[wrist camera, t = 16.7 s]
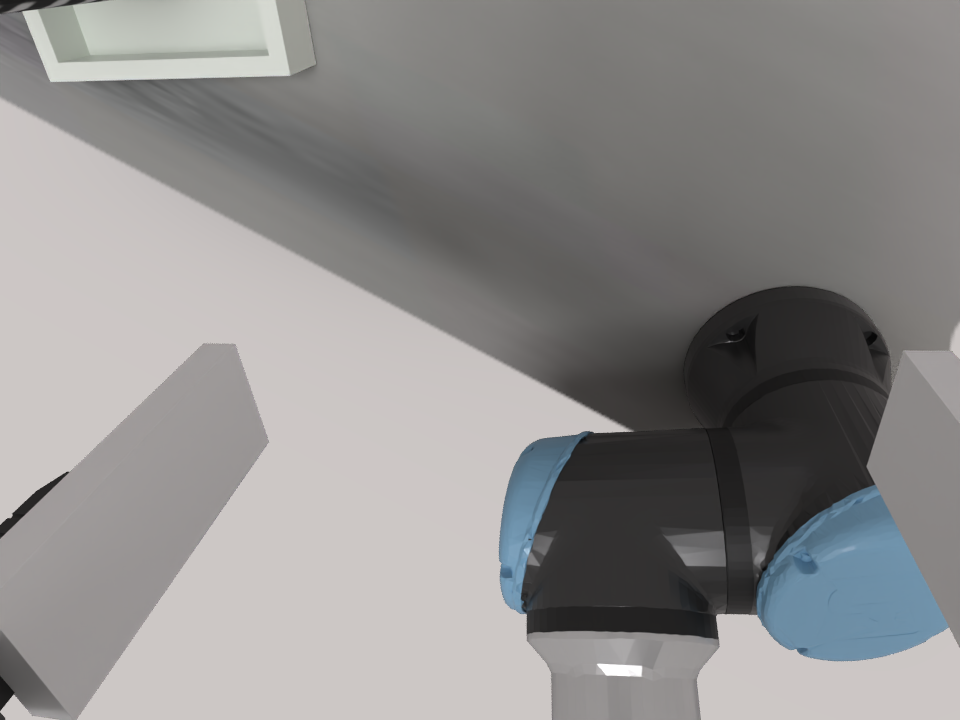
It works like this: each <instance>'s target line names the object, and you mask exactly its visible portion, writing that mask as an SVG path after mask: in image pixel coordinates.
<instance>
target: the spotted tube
mask: <svg viewBox="0 0 960 720" xmlns="http://www.w3.org/2000/svg"><path fill="white" fill-rule="evenodd" d="M101 1H109V0H0V14H6V13H14V12H22V11H29V10H37V9H45V8H53V7H61V6H69V5H77V4H85V3H93V2H101Z"/></svg>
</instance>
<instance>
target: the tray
mask: <svg viewBox="0 0 960 720" xmlns="http://www.w3.org/2000/svg"><path fill="white" fill-rule="evenodd" d="M22 12H23V14H24V17H25V19H26V22H27V24H28V27H29V29H30V32H31V34H32V37H33V39H34V42H35V44H36V47H37V49H38V52H39V54H40V57H41V59H42V62H43V64H44V67H45V69H46V72H47V74H48V77H49V79H50V82H66V81H104V80H143V79H181V78H220V77H258V76H291V75H293V74H295V73H298V72H300V71H302V70H305V69H307V68H309V67H311V66H314V65H316V60H315V55H314V49H313V43H312V38H311V32H310V26H309V21H308V15H307V10H306V4H305V0H109V1H101V2H93V3H85V4H77V5H69V6H61V7H53V8H45V9H37V10H29V11H22Z"/></svg>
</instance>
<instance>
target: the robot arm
mask: <svg viewBox="0 0 960 720" xmlns="http://www.w3.org/2000/svg"><path fill="white" fill-rule="evenodd" d="M684 381H685V386H686V391H687V397H688V400H689V404H690V406H691V408H692V411H693V413H694V415H695V416H696V418H697V419H698V421H699V422H700V423H701V425H702V426H703V427H704V428H695V429H677V430H659V431H641V432H615V433H593V432H590V431H585V432H582V433H580V434H578V435H571V436H563V437H552V438H544V439H539V440H537V441H535V442H533V443H531V444H530V445H529V446H528V447H526V449H525V450H524V451H523V452H522V453H521V455H520V457H519V459H518V461H517V462H516V464H515V466H514V469H513V471H512V474H511V477H510V480H509V484H508V488H507V492H506V496H505V501H504V507H503V514H502V521H501V530H500V541H499V561H500V562H501V563H502V564H501V571H500V584H501V591H502V595H503V598H504V600H505V603H506V604H507V605H508V606H509V607H510V608H511V609H514V610H516V611H517V612H518V613H520V614H527V641H528V642H529V644H530V645H531V646H532V647H533V648H534V649H535V650H536V652H537V653H538V654H539V655H540V656H541V657H542V658H543V660H544V661H545V662H546V663H547V665H548V667H549V669H550V671H551V677H552V678H551V681H552V720H701V718H700V708H699V699H698V689H697V677H698V674H699V671H700V670H701V668H702V667H703V666H704V665H705V663H706V662H707V661H708V660H709V659H710V657H711V656H712V655H713V654H714V653H715V652H716V650H717V649H718V648H719V638H718V630H717V622H716V616H717V614H749V615H758V617H759V619H760V620H761V622H762V625H763V626H764V627H765V628H766V629H767V631H768V632H769V634H770V635H771V636H772V637H773V638H774V640H776V641H777V642H778V643H779V644H780V645H782V646H783V647H785V648H787V649H789V650H794V649H797V651H798V652H799V653H800V654H801V655H804V656H807V657H810V658H814V659H820V660H828V661H857V660H866V659H873V658H878V657H883V656H887V655H890V654H894V653H897V652H901V651H904V650H907V649H909V648H912V647H914V646H916V645H919V644H921V643H923V642H926V640H928V639H929V638H931V637H932V636H934V635H936V634H938V633H940V632H942V631H944V630H945V629H947V628H948V627H949V628H950V630H951V631H952V633H953V635H954V637H955V639H956V641H957V643H958V645H959V647H960V360H959V358H958V357H957V356H956V355H955V354H954V353H953V352H952V351H907V350H904V351H903V354H902V357H901V360H900V363H899V366H898V369H897V373H896V376H895V379H894V382H893V385H892V388H891V362H890V355H889V351H888V348H887V345H886V343H885V340H884V338H883V337H882V335H881V333H880V332H879V330H878V329H877V328H876V326H875V325H874V323H873V322H872V320H871V319H870V318H869V316H868V315H867V314H866V313H865V312H864V311H863V310H862V309H861V308H860V307H859V306H857V305H856V304H855V303H853V302H852V301H850V300H848V299H846V298H844V297H842V296H840V295H838V294H835V293H832V292H829V291H825V290H821V289H816V288H808V287H785V288H777V289H771V290H766V291H762V292H759V293H756V294H753V295H750V296H747V297H745V298H743V299H740V300H738V301H736V302H734V303H732V304H731V305H729V306H727V307H726V308H724V309H723V310H721V311H720V312H719V313H717V314H716V315H715V316H713V317H712V318H711V319H710V320H709V321H708V322H707V323H706V324H705V325H704V326H703V327H702V329H701V330H700V331H699V332H698V334H697V335H696V337H695V338H694V340H693V342H692V344H691V346H690V348H689V350H688V353H687V356H686V360H685V365H684ZM268 443H269V440H268V437H267V434H266V432H265V429H264V426H263V423H262V420H261V417H260V414H259V411H258V409H257V406H256V403H255V400H254V397H253V394H252V391H251V388H250V385H249V383H248V379H247V377H246V374H245V371H244V368H243V365H242V362H241V359H240V356H239V353H238V351H237V348H236V345H235V344H203V345H202V346H201V347H200V348H198V349H197V350H196V351H195V352H194V353H193V354H192V355H191V356H190V357H189V358H188V359H187V360H186V361H185V362H184V363H183V364H182V365H181V366H180V367H179V368H178V369H177V370H176V371H175V372H173V374H172V375H170V376H169V377H168V378H167V379H166V380H165V381H164V382H163V383H162V384H161V385H160V386H159V387H158V388H157V389H156V390H155V391H154V392H153V393H152V394H151V395H149V396H148V397H147V398H146V399H145V400H144V401H143V402H142V403H141V404H140V405H139V406H138V407H137V408H136V409H135V410H134V411H133V412H132V413H131V414H130V415H129V416H128V417H127V418H126V419H124V420H123V422H121V423H120V424H119V425H118V426H117V427H116V428H115V429H114V430H113V431H112V432H111V433H110V434H109V435H108V436H107V437H106V438H105V439H104V440H103V441H102V442H101V443H99V444H98V445H97V446H96V448H94V449H93V450H92V451H91V452H90V453H89V454H88V455H87V456H86V457H85V458H84V459H83V460H82V461H81V462H80V463H79V464H78V465H77V466H76V467H75V468H74V469H73V470H71V471H70V472H66V473H64V474H63V475H61V476H60V477H58V478H56V479H55V480H53V481H52V482H50V483H48V484H47V485H45V486H44V487H42V488H40V489H39V490H37V491H36V492H35V493H34V494H33V495H32V496H31V497H30V498H28V499H27V500H26V501H25V502H24V503H23V504H22V505H21V506H20V507H19V508H18V509H17V510H16V511H15V512H14V513H13V516H12V518H7V519H6V520H5V521H4V522H3V523H2V524H1V525H0V711H1V709H2V708H3V707H4V706H5V704H6V703H7V702H8V701H9V699H10V698H11V697H12V696H13V694H14V695H15V696H16V697H17V698H18V699H19V701H20V702H21V703H22V704H23V705H24V706H25V708H26V709H27V710H28V711H29V712H30V713H31V714H32V716H39V717H46V718H53V719H59V720H77V718H78V717H79V715H80V714H81V712H82V711H83V709H84V708H85V707H86V705H87V704H88V702H89V701H90V699H91V698H92V696H93V695H94V694H95V692H96V691H97V689H98V688H99V686H100V685H101V684H102V682H103V681H104V679H105V678H106V676H107V675H108V673H109V672H110V671H111V669H112V668H113V666H114V665H115V663H116V662H117V660H118V659H119V658H120V656H121V655H122V653H123V651H124V650H125V649H126V647H127V646H128V644H129V643H130V642H131V640H132V639H133V637H134V636H135V634H136V633H137V632H138V630H139V629H140V627H141V626H142V624H143V623H144V622H145V620H146V619H147V617H148V616H149V614H150V613H151V611H152V610H153V608H154V607H155V606H156V604H157V603H158V601H159V600H160V598H161V597H162V595H163V594H164V593H165V591H166V590H167V588H168V587H169V585H170V584H171V583H172V581H173V580H174V578H175V577H176V575H177V574H178V572H179V571H180V569H181V568H182V567H183V565H184V564H185V562H186V561H187V560H188V558H189V556H190V555H191V554H192V552H193V551H194V549H195V548H196V546H197V545H198V544H199V542H200V541H201V539H202V538H203V536H204V535H205V534H206V532H207V531H208V529H209V528H210V526H211V525H212V523H213V522H214V521H215V519H216V518H217V516H218V515H219V513H220V512H221V510H222V509H223V507H224V506H225V505H226V503H227V502H228V500H229V499H230V497H231V496H232V495H233V493H234V492H235V490H236V489H237V487H238V486H239V485H240V483H241V482H242V480H243V479H244V477H245V476H246V474H247V473H248V472H249V470H250V469H251V467H252V465H253V464H254V463H255V461H256V460H257V459H258V457H259V456H260V454H261V453H262V451H263V450H264V448H265V447H266V446H267V444H268ZM0 720H5V717H4V716H3V715H2V714H1V713H0Z"/></svg>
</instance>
